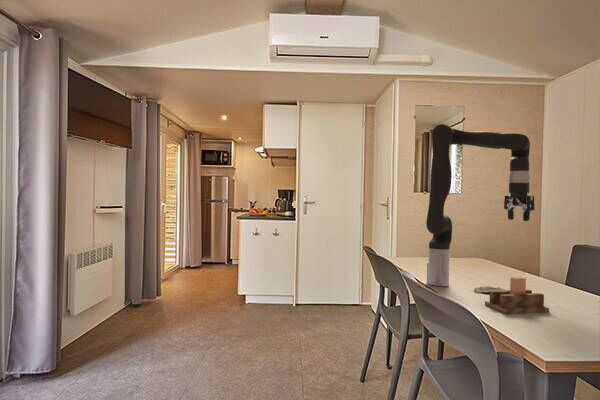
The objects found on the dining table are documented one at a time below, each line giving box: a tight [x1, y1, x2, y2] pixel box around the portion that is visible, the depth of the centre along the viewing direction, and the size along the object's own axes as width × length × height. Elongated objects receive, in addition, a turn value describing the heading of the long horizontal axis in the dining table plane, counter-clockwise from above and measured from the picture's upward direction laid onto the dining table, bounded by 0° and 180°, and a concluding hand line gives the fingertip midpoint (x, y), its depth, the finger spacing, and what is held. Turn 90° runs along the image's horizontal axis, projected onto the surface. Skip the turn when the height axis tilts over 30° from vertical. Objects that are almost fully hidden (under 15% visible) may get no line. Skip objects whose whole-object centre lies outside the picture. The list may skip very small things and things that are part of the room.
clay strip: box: [509, 276, 527, 294], centre depth 139 cm, size 4×2×10 cm, turn 100°
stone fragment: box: [473, 286, 506, 294], centre depth 160 cm, size 25×3×10 cm
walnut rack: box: [484, 288, 550, 315], centre depth 139 cm, size 18×11×6 cm, turn 100°
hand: (518, 220), depth 157 cm, fingers open, 8 cm apart
